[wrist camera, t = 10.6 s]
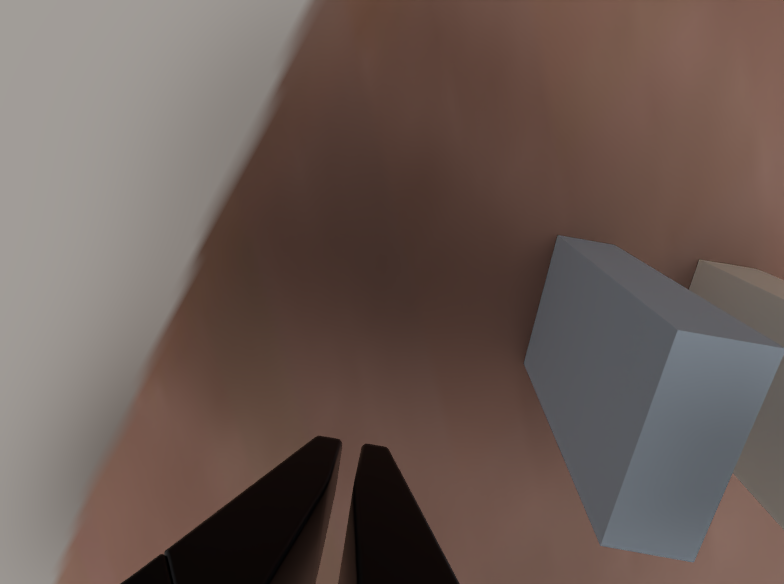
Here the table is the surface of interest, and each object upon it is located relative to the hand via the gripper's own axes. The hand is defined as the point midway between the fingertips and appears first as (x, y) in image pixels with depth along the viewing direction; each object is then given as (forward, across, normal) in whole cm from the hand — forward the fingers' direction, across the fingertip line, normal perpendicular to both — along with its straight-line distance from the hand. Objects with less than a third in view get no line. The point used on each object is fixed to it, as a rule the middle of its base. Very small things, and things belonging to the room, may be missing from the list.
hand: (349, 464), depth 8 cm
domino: (+11, -6, 0) cm, 13 cm away
